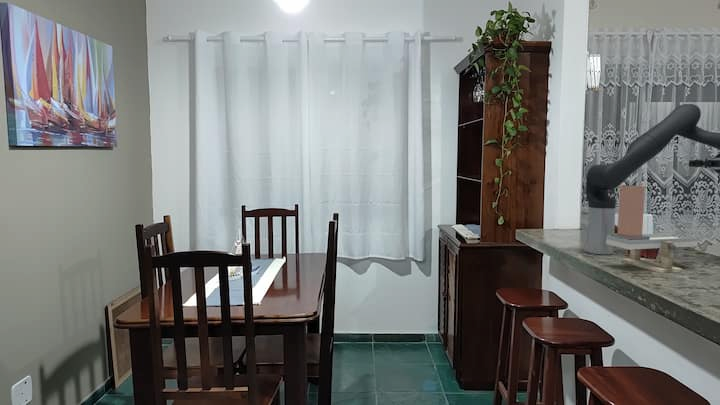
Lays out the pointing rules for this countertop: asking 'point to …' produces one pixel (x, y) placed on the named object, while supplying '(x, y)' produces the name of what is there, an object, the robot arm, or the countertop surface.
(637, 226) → the block
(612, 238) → the beam
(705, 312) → the countertop surface
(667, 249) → the pivot stand
